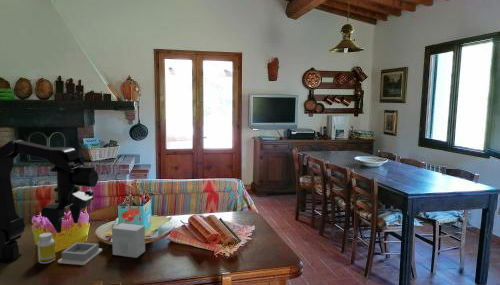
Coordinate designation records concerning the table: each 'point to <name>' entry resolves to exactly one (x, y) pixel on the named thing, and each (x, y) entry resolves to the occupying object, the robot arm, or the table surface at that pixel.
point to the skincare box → (128, 240)
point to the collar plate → (80, 253)
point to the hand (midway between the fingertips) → (67, 227)
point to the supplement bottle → (46, 248)
